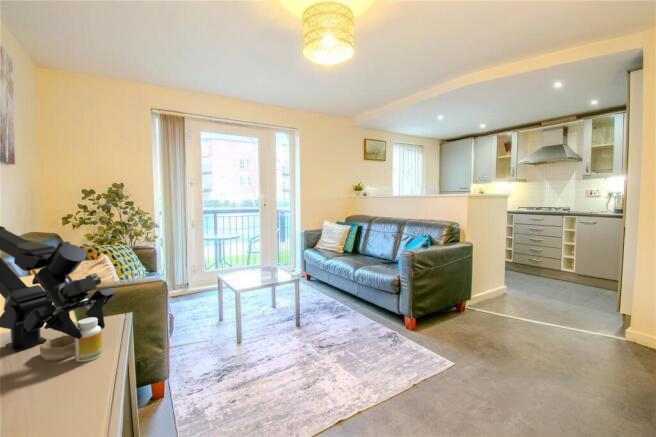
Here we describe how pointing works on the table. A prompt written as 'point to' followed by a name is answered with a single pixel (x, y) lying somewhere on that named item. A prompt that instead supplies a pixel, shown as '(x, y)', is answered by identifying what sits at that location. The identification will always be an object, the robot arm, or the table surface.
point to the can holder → (58, 348)
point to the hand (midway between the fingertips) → (92, 332)
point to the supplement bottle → (88, 340)
